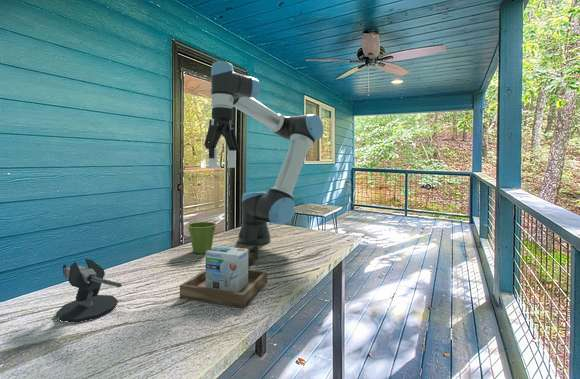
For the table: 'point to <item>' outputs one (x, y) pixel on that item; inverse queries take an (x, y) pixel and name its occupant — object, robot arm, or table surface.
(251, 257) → the rusty artillery shell
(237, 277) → the light bulb box
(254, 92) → the robot arm
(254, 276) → the walnut tray
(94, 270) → the gun turret
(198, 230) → the plant pot
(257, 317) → the table surface
